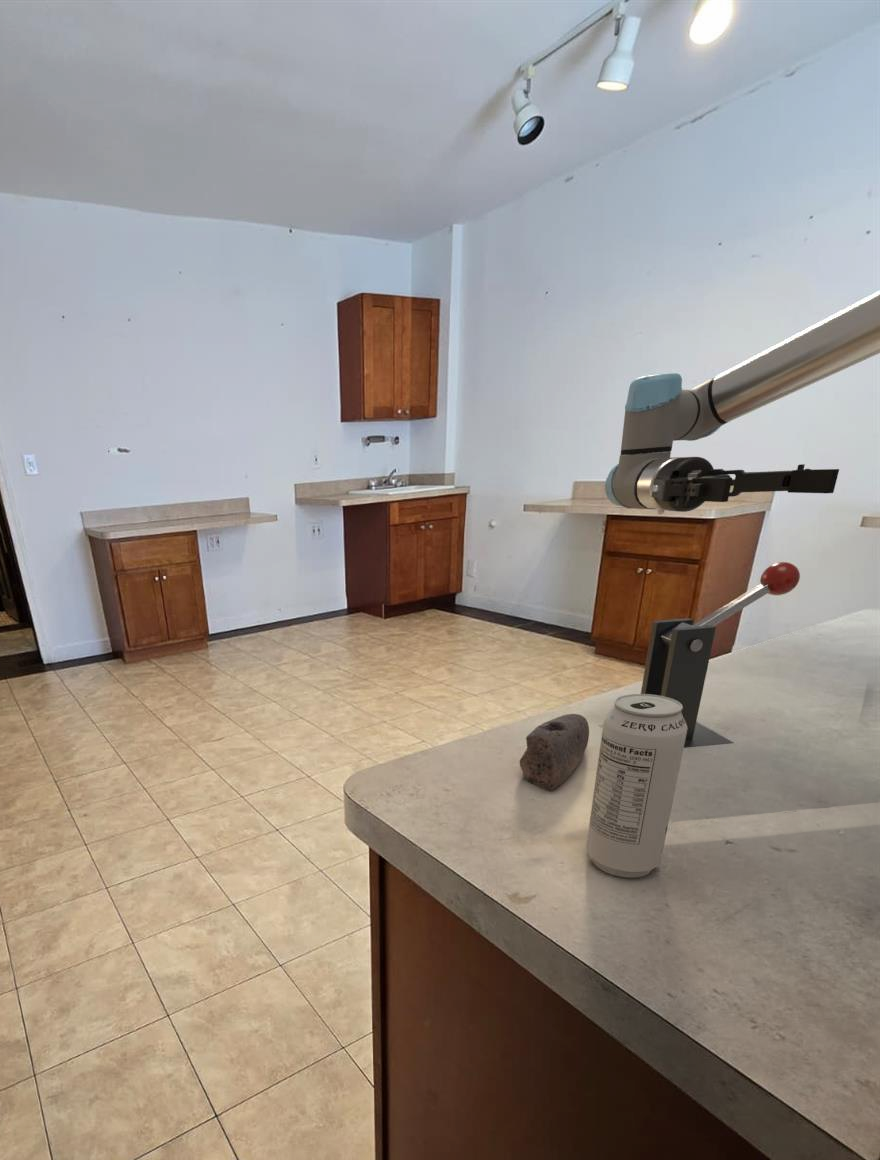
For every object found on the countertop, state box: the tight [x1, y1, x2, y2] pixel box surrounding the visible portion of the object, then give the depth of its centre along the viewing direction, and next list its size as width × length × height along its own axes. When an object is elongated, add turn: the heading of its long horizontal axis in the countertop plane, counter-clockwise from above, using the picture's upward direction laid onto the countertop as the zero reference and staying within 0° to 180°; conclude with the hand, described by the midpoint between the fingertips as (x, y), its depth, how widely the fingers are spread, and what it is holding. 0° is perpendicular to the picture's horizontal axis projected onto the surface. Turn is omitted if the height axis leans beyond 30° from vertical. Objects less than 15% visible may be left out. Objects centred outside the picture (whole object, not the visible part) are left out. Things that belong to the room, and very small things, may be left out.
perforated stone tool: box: [519, 713, 590, 792], centre depth 72 cm, size 15×5×7 cm, turn 139°
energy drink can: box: [585, 693, 688, 879], centre depth 54 cm, size 6×6×15 cm
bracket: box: [598, 617, 735, 749], centre depth 76 cm, size 12×9×15 cm
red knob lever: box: [661, 561, 801, 652], centre depth 73 cm, size 15×4×4 cm
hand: (780, 485), depth 78 cm, fingers open, 13 cm apart
